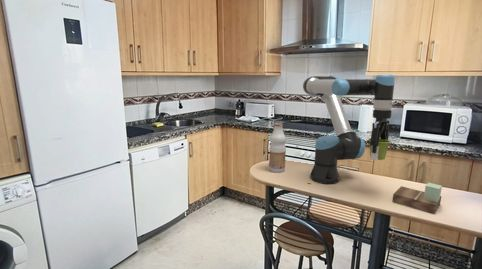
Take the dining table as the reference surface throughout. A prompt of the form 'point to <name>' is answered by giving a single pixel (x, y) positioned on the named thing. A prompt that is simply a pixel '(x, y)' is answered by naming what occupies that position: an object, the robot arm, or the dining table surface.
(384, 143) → the plant pot
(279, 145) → the fruit juice
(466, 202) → the dining table surface
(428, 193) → the sage block
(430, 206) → the walnut board
